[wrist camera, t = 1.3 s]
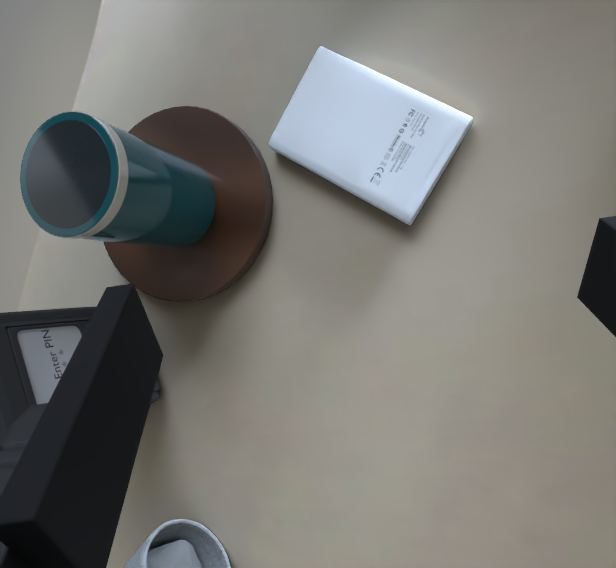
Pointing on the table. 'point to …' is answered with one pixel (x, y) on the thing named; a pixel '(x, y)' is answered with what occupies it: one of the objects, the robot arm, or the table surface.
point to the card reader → (37, 357)
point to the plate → (228, 212)
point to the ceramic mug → (180, 548)
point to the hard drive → (369, 134)
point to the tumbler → (113, 186)
